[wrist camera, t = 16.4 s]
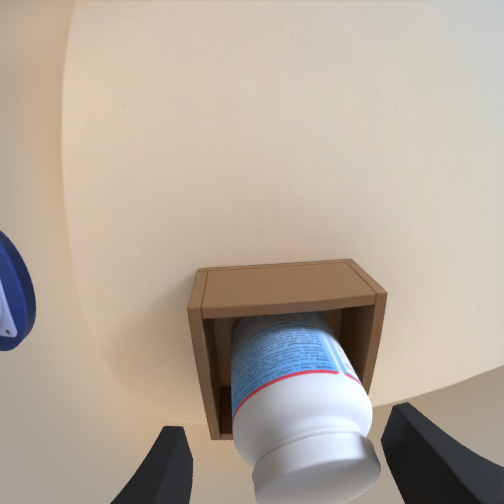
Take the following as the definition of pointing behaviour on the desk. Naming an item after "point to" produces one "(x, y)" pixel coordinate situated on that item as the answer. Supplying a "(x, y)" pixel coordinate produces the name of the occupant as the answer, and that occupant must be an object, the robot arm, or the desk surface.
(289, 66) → the desk surface
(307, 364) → the pill bottle
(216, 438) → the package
